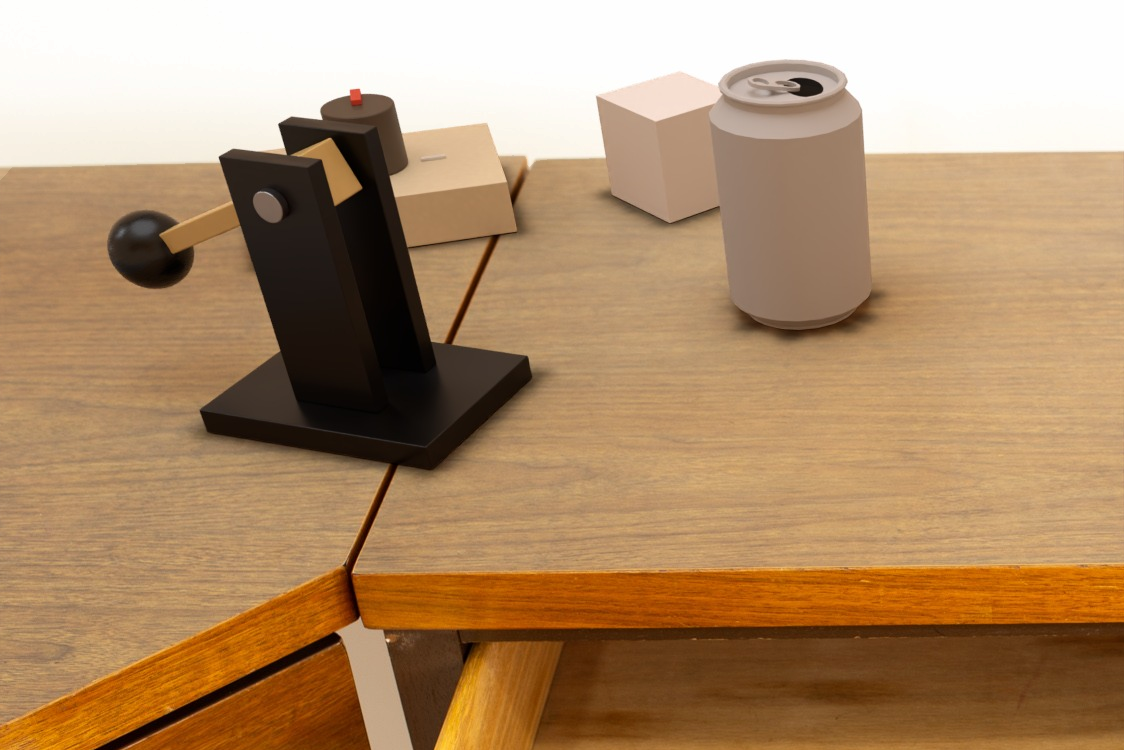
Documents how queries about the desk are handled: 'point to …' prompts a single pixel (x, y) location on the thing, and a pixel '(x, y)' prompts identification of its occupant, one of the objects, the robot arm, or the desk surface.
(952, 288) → the desk surface
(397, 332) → the bracket
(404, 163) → the lock knob
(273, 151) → the plate
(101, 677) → the desk surface
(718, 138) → the can
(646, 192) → the pale pink cube
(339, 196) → the lever
